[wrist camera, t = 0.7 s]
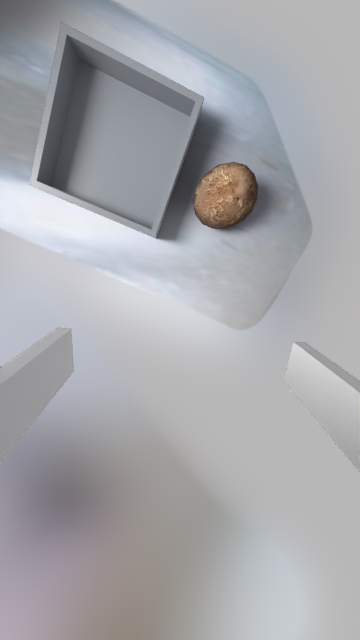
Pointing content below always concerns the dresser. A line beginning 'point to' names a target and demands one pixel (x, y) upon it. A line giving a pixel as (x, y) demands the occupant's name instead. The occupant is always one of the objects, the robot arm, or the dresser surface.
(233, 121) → the dresser surface
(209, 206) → the mushroom
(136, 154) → the tray
